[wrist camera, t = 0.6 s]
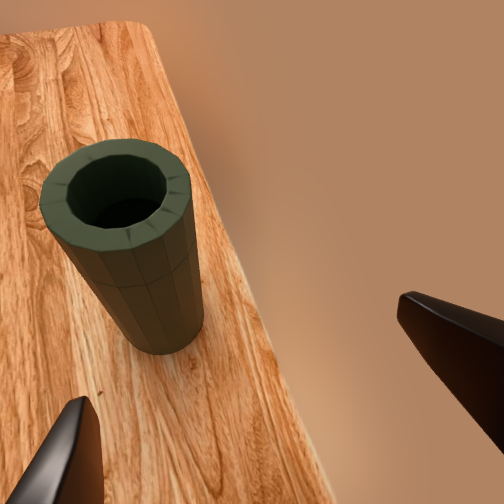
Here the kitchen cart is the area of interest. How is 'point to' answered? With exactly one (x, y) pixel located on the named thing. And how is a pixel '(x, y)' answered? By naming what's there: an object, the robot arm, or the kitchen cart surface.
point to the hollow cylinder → (131, 237)
